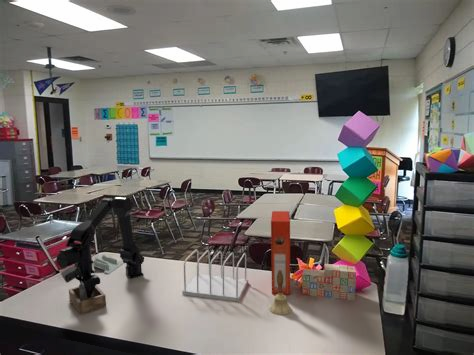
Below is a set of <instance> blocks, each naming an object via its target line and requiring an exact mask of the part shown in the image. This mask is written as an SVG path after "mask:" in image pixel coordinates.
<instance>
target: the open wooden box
mask: <svg viewBox="0 0 474 355" xmlns="http://www.w3.org/2000/svg"><path fill="white" fill-rule="evenodd" d="M93 294H94V297H93V298H90V299H86V300H83V301H80V292H79V285H78V286H76V287H73V288H69V289H68V298H69V302H70V303H71V304H72V306H73V308H74V309H75V310H76V312H77V313H78V315H79V316H83V315H85V314H88V313H91V312H94V311H97V310H101V309H102V308H105V307H107V300H106V299H107V298H106V294H105V292H104V291H102V289H100V287H99V286H98V284H97V285H96V286H95V288H94V290H93Z"/></svg>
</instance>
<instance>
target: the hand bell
mask: <svg viewBox="0 0 474 355" xmlns="http://www.w3.org/2000/svg"><path fill="white" fill-rule="evenodd" d="M277 284H278V294H274V295H275V296H274V299H273V303H272V304H271V305H270V307H269V311H270V313H272V314H274V315H278V316H285V315H289V314H291V312H292V307H291V306H290V305H289V304H288V301H287V295H283V293H282V285H283V274H282V271H281V270H278V274H277Z"/></svg>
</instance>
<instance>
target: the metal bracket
mask: <svg viewBox="0 0 474 355" xmlns="http://www.w3.org/2000/svg"><path fill="white" fill-rule="evenodd" d="M124 264H125V263H124V262H123V260H122V259H121V260H119V261H118V260H117V259H116V258H114V257H110V256H106V254H103V255H102V256H100V257H95V258H94V260H93V263H92V269H94V268H99V269H101V270H104V271H103V273H104V274H106V275H107V274H108V275H110V274H112V273H113V272H114V271H115V270H117V269H118V268H119V267H121V266H123V265H124Z"/></svg>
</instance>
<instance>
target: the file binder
mask: <svg viewBox="0 0 474 355" xmlns="http://www.w3.org/2000/svg"><path fill="white" fill-rule="evenodd" d="M270 218H271V220H270V234H271V235H270V238H271V240H270V244H271V247H270V248H271V249H270V251H271V252H270V253H271V254H270V255H271V256H270V258H271V264H270V265H271V294H272V295H277V294H278V284H277V274H278V270H281V271H282V274H283V285H282V293H283V295H285V296H289V295H291V218H290V210H289V211H288V210H285V211H283V210H281V211H279V210H278V211H276V210H275V211H274V210H273V211H272V212H271V217H270Z"/></svg>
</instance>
